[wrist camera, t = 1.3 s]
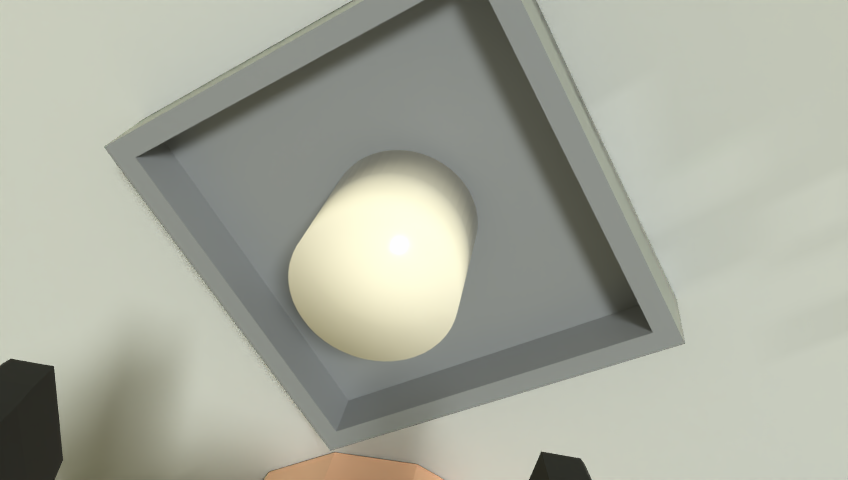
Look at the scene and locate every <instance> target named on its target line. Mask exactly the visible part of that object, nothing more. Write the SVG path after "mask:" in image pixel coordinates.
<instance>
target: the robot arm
mask: <svg viewBox="0 0 848 480" xmlns="http://www.w3.org/2000/svg"><path fill="white" fill-rule="evenodd" d="M62 461H63V456H62V445H61V435H60V424H59V414H58V404H57V393H56V383H55V373H54V366H49V365H43V364H37V363H32V362H26V361H20V360H15V359H10V360H8V361H6V362H5V363H3V364H2V365H0V480H55V477H56V475H57V473H58V470H59V468H60V465H61V463H62ZM529 480H592V479H591V477H590V475H589V473H588V471H587V468H586V466H585V464H584V463H583V461H582V460H581V459H580V458H574V457H569V456H563V455H557V454H552V453H546V452H541V454H540V456H539V458H538V461H537V463H536V465H535V467H534V470H533V472H532V474H531V477H530V479H529Z"/></svg>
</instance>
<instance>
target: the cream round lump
mask: <svg viewBox="0 0 848 480" xmlns="http://www.w3.org/2000/svg"><path fill="white" fill-rule="evenodd" d="M477 228H478V217H477V211H476V207H475V204H474V201H473V198H472V196H471V194H470V192H469V190H468V189H467V187H466V186H465V184H464V183H463V182H462V180H461V179H460V178H459V177H458V176H457V175H456V174H455V173H454V172H453V171H452V170H451V169H450V168H448V167H447V166H445V165H444V164H443V163H441V162H439V161H437V160H435V159H434V158H431V157H429V156H426V155H424V154H420V153H417V152H412V151H406V150H389V151H382V152H378V153H374V154H372V155H369V156H367V157H365V158H363V159H361V160H359V161H358V162H356V163H355V164H354V165H352V166H351V167H350V168H349V169H348V170H347V171H346V172H345V173H344V175H343V176H342V178H341V179H340V181H339V182H338V184H337V185H336V187H335V188H334V190H333V191H332V193H331V194H330V196H329V197H328V199H327V200H326V202H325V203H324V205H323V206H322V208H321V210H320V211H319V213H318V214H317V216H316V217H315V219H314V220H313V222H312V223H311V225H310V226H309V228H308V229H307V231H306V232H305V234H304V235H303V237H302V238H301V240H300V242H299V243H298V245H297V246H296V248H295V250H294V252H293V254H292V257H291V261H290V264H289V271H288V282H289V289H290V293H291V296H292V300H293V302H294V304H295V307H296V309H297V311H298V312H299V314H300V316H301V317H302V319H303V320H304V321H305V323H306V324H307V325H308V326H309V327H310V329H311V330H312V331H313V332H314V333H315V334H316V335H318V336H319V337H320V338H321V339H323V340H324V341H325V342H327V343H328V344H330V345H331V346H333V347H335V348H337V349H338V350H340V351H342V352H345V353H347V354H350V355H352V356H355V357H359V358H362V359H367V360H373V361H399V360H405V359H409V358H413V357H416V356H418V355H421V354H423V353H425V352H427V351H428V350H430V349H432V348H433V347H434V346H436V345H437V344H438V343H440V341H441V340H442V339H443V338H444V337H445V336H446V335H447V333H448V332H449V330H450V329H451V327H452V325H453V323H454V321H455V318H456V315H457V311H458V307H459V303H460V299H461V295H462V291H463V287H464V283H465V279H466V275H467V271H468V267H469V263H470V259H471V255H472V251H473V247H474V243H475V239H476V235H477Z"/></svg>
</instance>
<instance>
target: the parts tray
mask: <svg viewBox="0 0 848 480" xmlns="http://www.w3.org/2000/svg"><path fill="white" fill-rule="evenodd" d="M104 148H105V149H106V150H107V152H108V153H109V154H110V156H111V157H112V158H113V160H114V161H115V162H116V164H117V165H118V166H119V168H120V169H121V170H122V172H123V173H124V174H125V176H126V177H127V178H128V180H129V181H130V183H131V184H132V185H133V187H134V188H135V189H136V191H137V192H138V193H139V195H140V196H141V197H142V199H143V200H144V201H145V203H146V204H147V205H148V207H149V208H150V209H151V211H152V212H153V213H154V215H155V216H156V217H157V219H158V220H159V221H160V223H161V224H162V225H163V227H164V228H165V229H166V231H167V232H168V233H169V235H170V236H171V237H172V239H173V240H174V242H175V243H176V244H177V246H178V247H179V248H180V250H181V251H182V252H183V254H184V255H185V256H186V258H187V259H188V260H189V262H190V263H191V264H192V266H193V267H194V268H195V270H196V271H197V272H198V274H199V275H200V276H201V278H202V279H203V280H204V282H205V283H206V284H207V286H208V287H209V288H210V290H211V291H212V292H213V294H214V295H215V296H216V298H217V299H218V301H219V302H220V303H221V305H222V306H223V307H224V309H225V310H226V311H227V313H228V314H229V315H230V317H231V318H232V319H233V321H234V322H235V323H236V325H237V326H238V327H239V329H240V330H241V331H242V333H243V334H244V335H245V337H246V338H247V339H248V341H249V342H250V343H251V345H252V346H253V347H254V349H255V350H256V351H257V353H258V354H259V355H260V357H261V358H262V360H263V361H264V362H265V364H266V365H267V366H268V368H269V369H270V370H271V372H272V373H273V374H274V376H275V377H276V378H277V380H278V381H279V382H280V384H281V385H282V386H283V388H284V389H285V390H286V392H287V393H288V394H289V396H290V397H291V398H292V400H293V401H294V402H295V404H296V405H297V406H298V408H299V409H300V410H301V412H302V413H303V414H304V416H305V417H306V419H307V420H308V421H309V423H310V424H311V425H312V427H313V428H314V429H315V431H316V432H317V433H318V435H319V436H320V437H321V439H322V440H323V441H324V443H325V444H326V445H327V447H328V448H329V449H330V451H331V450H334V449H337V448H341V447H344V446H347V445H350V444H354V443H357V442H360V441H364V440H367V439H370V438H374V437H377V436H380V435H384V434H387V433H390V432H394V431H397V430H400V429H404V428H407V427H410V426H413V425H417V424H420V423H423V422H427V421H430V420H433V419H437V418H440V417H443V416H447V415H450V414H453V413H457V412H460V411H463V410H467V409H470V408H473V407H476V406H480V405H483V404H486V403H490V402H493V401H496V400H500V399H503V398H506V397H510V396H513V395H516V394H520V393H523V392H526V391H530V390H533V389H536V388H539V387H543V386H546V385H549V384H553V383H556V382H559V381H563V380H566V379H569V378H573V377H576V376H579V375H583V374H586V373H589V372H592V371H596V370H599V369H602V368H606V367H609V366H612V365H616V364H619V363H622V362H626V361H629V360H632V359H636V358H639V357H642V356H646V355H649V354H652V353H655V352H659V351H662V350H665V349H669V348H672V347H675V346H679V345H682V344H685V340H684V335H683V330H682V325H681V320H680V314H679V309H678V304H677V299H676V297H675V295H674V293H673V291H672V289H671V287H670V284H669V282H668V280H667V278H666V276H665V274H664V272H663V270H662V267H661V265H660V263H659V261H658V259H657V257H656V255H655V253H654V250H653V248H652V246H651V244H650V242H649V240H648V238H647V236H646V233H645V231H644V229H643V227H642V225H641V223H640V221H639V218H638V216H637V214H636V212H635V210H634V208H633V206H632V204H631V201H630V199H629V197H628V195H627V193H626V191H625V189H624V187H623V184H622V182H621V180H620V178H619V176H618V174H617V172H616V170H615V167H614V165H613V163H612V161H611V159H610V157H609V155H608V152H607V150H606V148H605V146H604V144H603V142H602V140H601V138H600V135H599V133H598V131H597V129H596V127H595V125H594V123H593V121H592V118H591V116H590V114H589V112H588V110H587V108H586V106H585V104H584V101H583V99H582V97H581V95H580V93H579V91H578V89H577V86H576V84H575V82H574V80H573V78H572V76H571V74H570V72H569V69H568V67H567V65H566V63H565V61H564V59H563V57H562V55H561V52H560V50H559V48H558V46H557V44H556V42H555V40H554V38H553V35H552V33H551V31H550V29H549V27H548V25H547V23H546V20H545V18H544V16H543V14H542V12H541V10H540V8H539V6H538V3H537V1H536V0H352V1H351V2H349V3H347V4H345V5H344V6H342V7H340V8H338V9H336V10H335V11H333V12H331V13H329V14H328V15H326V16H324V17H322V18H321V19H319V20H317V21H315V22H314V23H312V24H310V25H308V26H307V27H305V28H303V29H301V30H300V31H298V32H296V33H294V34H292V35H291V36H289V37H287V38H285V39H284V40H282V41H280V42H278V43H277V44H275V45H273V46H271V47H270V48H268V49H266V50H264V51H263V52H261V53H259V54H257V55H256V56H254V57H252V58H250V59H248V60H247V61H245V62H243V63H241V64H240V65H238V66H236V67H234V68H233V69H231V70H229V71H227V72H226V73H224V74H222V75H220V76H219V77H217V78H215V79H213V80H212V81H210V82H208V83H206V84H204V85H203V86H201V87H199V88H197V89H196V90H194V91H192V92H190V93H189V94H187V95H185V96H183V97H182V98H180V99H178V100H176V101H175V102H173V103H171V104H169V105H168V106H166V107H164V108H162V109H161V110H159V111H157V112H155V113H153V114H152V115H150V116H148V117H146V118H145V119H143V120H141V121H140V122H139V123H137V124H136V125H134V126H133V127H132V128H130V129H129V130H127V131H126V132H124V133H123V134H122V135H120V136H119V137H117V138H116V139H115V140H113V141H112V142H110V143H109V144H107V145H106V146H105V147H104ZM389 150H406V151H412V152H417V153H420V154H424V155H426V156H429V157H431V158H434V159H435V160H437V161H439V162H441V163H443V164H444V165H445V166H447V167H448V168H450V169H451V170H452V171H453V172H454V173H455V174H456V175H457V176H458V177H459V178H460V179H461V180H462V182H463V183H464V184H465V186H466V187H467V189H468V190H469V192H470V194H471V196H472V198H473V201H474V204H475V207H476V211H477V217H478V228H477V235H476V239H475V243H474V247H473V251H472V255H471V259H470V263H469V267H468V271H467V275H466V279H465V283H464V287H463V291H462V295H461V299H460V303H459V307H458V311H457V315H456V318H455V321H454V323H453V325H452V327H451V329H450V330H449V332H448V333H447V335H446V336H445V337H444V338H443V339H442V340H441V341H440V343H438V344H437V345H436V346H434V347H433V348H432V349H430V350H428V351H427V352H425V353H423V354H421V355H418V356H416V357H413V358H409V359H405V360H399V361H373V360H367V359H362V358H359V357H355V356H352V355H350V354H347V353H345V352H342V351H340V350H338V349H337V348H335V347H333V346H331V345H330V344H328V343H327V342H325V341H324V340H323V339H321V338H320V337H319V336H318V335H316V334H315V333H314V332H313V331H312V330H311V329H310V327H309V326H308V325H307V324H306V323H305V321H304V320H303V319H302V317H301V316H300V314H299V312H298V311H297V309H296V307H295V304H294V302H293V300H292V296H291V293H290V289H289V282H288V271H289V264H290V261H291V257H292V254H293V252H294V250H295V248H296V246H297V245H298V243H299V242H300V240H301V238H302V237H303V235H304V234H305V232H306V231H307V229H308V228H309V226H310V225H311V223H312V222H313V220H314V219H315V217H316V216H317V214H318V213H319V211H320V210H321V208H322V206H323V205H324V203H325V202H326V200H327V199H328V197H329V196H330V194H331V193H332V191H333V190H334V188H335V187H336V185H337V184H338V182H339V181H340V179H341V178H342V176H343V175H344V173H345V172H346V171H347V170H348V169H349V168H350V167H351V166H352V165H354V164H355V163H356V162H358V161H359V160H361V159H363V158H365V157H367V156H369V155H372V154H374V153H378V152H382V151H389Z"/></svg>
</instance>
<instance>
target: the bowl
mask: <svg viewBox="0 0 848 480" xmlns="http://www.w3.org/2000/svg"><path fill="white" fill-rule="evenodd" d="M263 480H444V479H442V478H440V477H439V476H437V475H435V474H433V473H432V472H430V471H428V470H426V469H425V468H423V467H421V466H419V465H418V464H411V463H404V462H398V461H391V460H384V459H377V458H370V457H363V456H356V455H349V454H342V453H336V452H334V453H331V454H328V455H324V456H321V457H318V458H314V459H311V460H308V461H304V462H301V463H298V464H294V465H291V466H287V467H284V468H281V469H277V470H274V471H271V472H269V473H268V474H267V475H266V477H265V478H264V479H263Z"/></svg>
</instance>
